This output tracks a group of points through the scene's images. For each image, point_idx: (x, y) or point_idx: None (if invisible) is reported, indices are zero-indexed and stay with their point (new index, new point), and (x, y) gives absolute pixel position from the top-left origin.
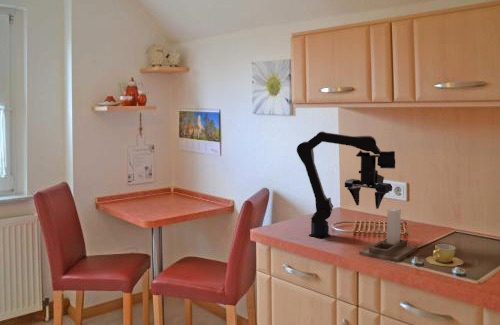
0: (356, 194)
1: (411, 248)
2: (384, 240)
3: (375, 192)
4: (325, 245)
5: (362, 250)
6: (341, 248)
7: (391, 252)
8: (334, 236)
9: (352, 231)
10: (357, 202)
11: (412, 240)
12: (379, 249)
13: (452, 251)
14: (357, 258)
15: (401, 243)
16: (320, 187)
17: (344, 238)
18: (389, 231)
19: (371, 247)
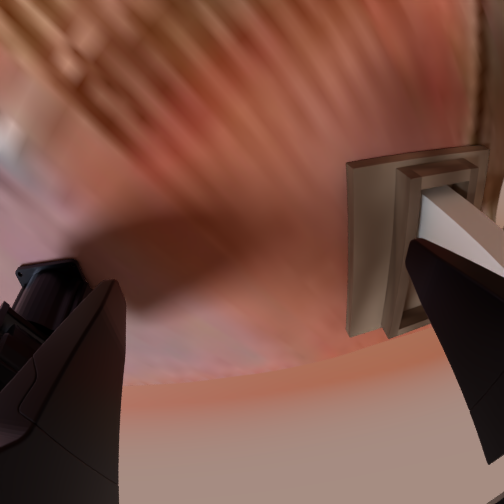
0: (92, 443)
1: (480, 181)
2: (409, 242)
3: (495, 459)
4: (189, 349)
5: (353, 326)
6: (257, 333)
7: None
8: (90, 247)
9: (55, 92)
10: (120, 331)
11: (421, 4)
12: (421, 326)
13: None
14: (356, 348)
15: None
16: None
17: (146, 234)
18: None
19: (395, 334)
